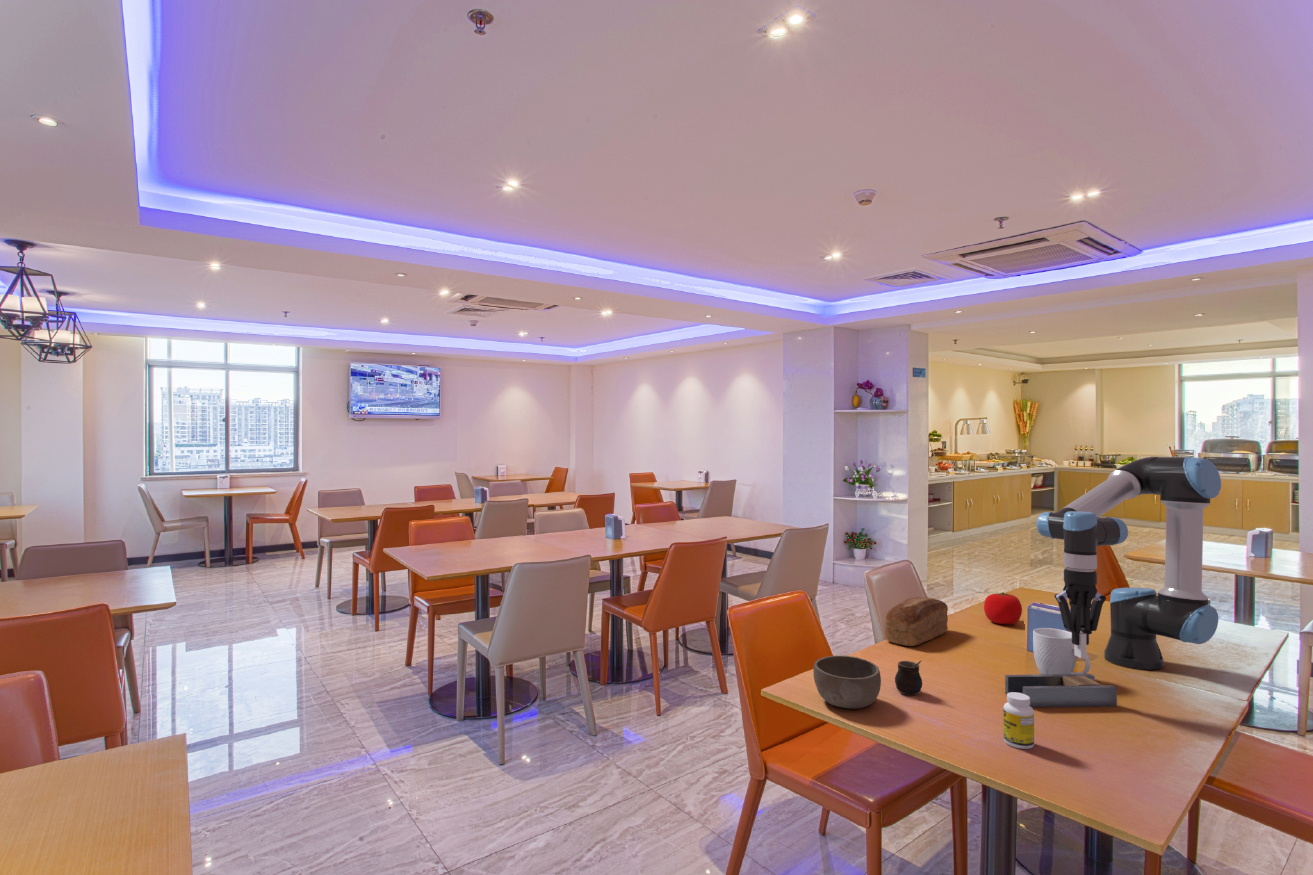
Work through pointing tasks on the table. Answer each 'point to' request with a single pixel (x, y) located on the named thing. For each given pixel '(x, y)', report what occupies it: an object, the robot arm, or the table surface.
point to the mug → (1055, 652)
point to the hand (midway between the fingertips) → (1080, 656)
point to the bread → (916, 621)
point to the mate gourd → (908, 678)
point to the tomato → (1003, 608)
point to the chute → (1060, 691)
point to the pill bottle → (1018, 721)
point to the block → (1078, 681)
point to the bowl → (847, 681)
